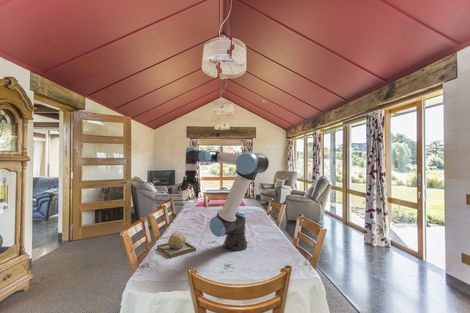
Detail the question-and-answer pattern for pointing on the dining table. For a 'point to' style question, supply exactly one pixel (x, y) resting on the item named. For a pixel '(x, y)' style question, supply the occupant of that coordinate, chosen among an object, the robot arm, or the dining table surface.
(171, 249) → the base
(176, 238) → the coral
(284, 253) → the dining table surface
